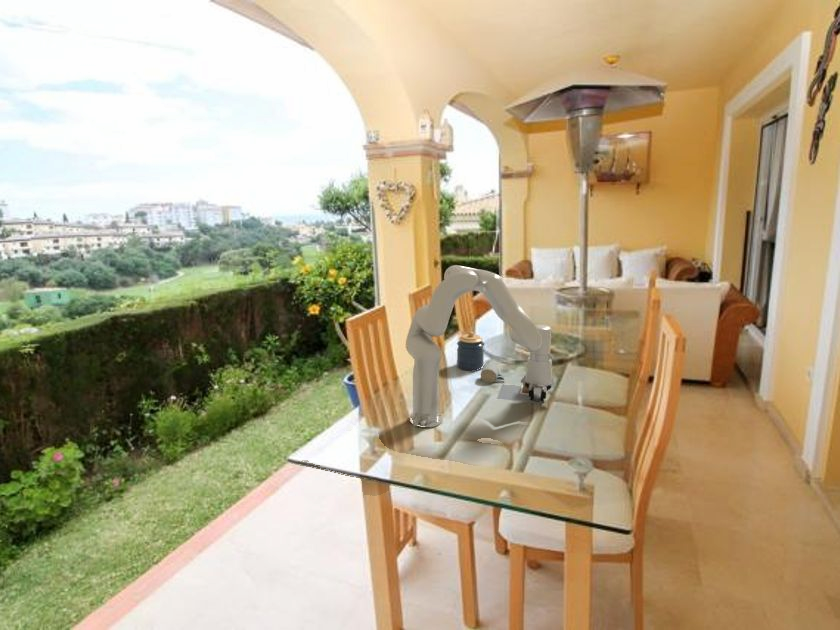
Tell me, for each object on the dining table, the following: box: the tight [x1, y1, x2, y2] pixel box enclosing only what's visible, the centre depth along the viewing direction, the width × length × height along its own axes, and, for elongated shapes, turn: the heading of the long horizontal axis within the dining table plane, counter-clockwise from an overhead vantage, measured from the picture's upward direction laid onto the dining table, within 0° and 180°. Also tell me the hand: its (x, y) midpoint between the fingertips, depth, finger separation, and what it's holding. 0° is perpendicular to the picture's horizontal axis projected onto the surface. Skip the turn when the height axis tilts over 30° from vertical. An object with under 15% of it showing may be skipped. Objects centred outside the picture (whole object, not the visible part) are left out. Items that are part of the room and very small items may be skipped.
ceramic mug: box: [480, 361, 503, 384], centre depth 216 cm, size 11×8×8 cm
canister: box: [456, 331, 485, 372], centre depth 233 cm, size 13×13×18 cm
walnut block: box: [522, 380, 534, 393], centre depth 204 cm, size 7×7×4 cm
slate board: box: [496, 384, 544, 405], centre depth 203 cm, size 18×18×1 cm
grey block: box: [532, 384, 543, 402], centre depth 195 cm, size 4×4×6 cm
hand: (537, 398), depth 196 cm, fingers closed on grey block, 4 cm apart
